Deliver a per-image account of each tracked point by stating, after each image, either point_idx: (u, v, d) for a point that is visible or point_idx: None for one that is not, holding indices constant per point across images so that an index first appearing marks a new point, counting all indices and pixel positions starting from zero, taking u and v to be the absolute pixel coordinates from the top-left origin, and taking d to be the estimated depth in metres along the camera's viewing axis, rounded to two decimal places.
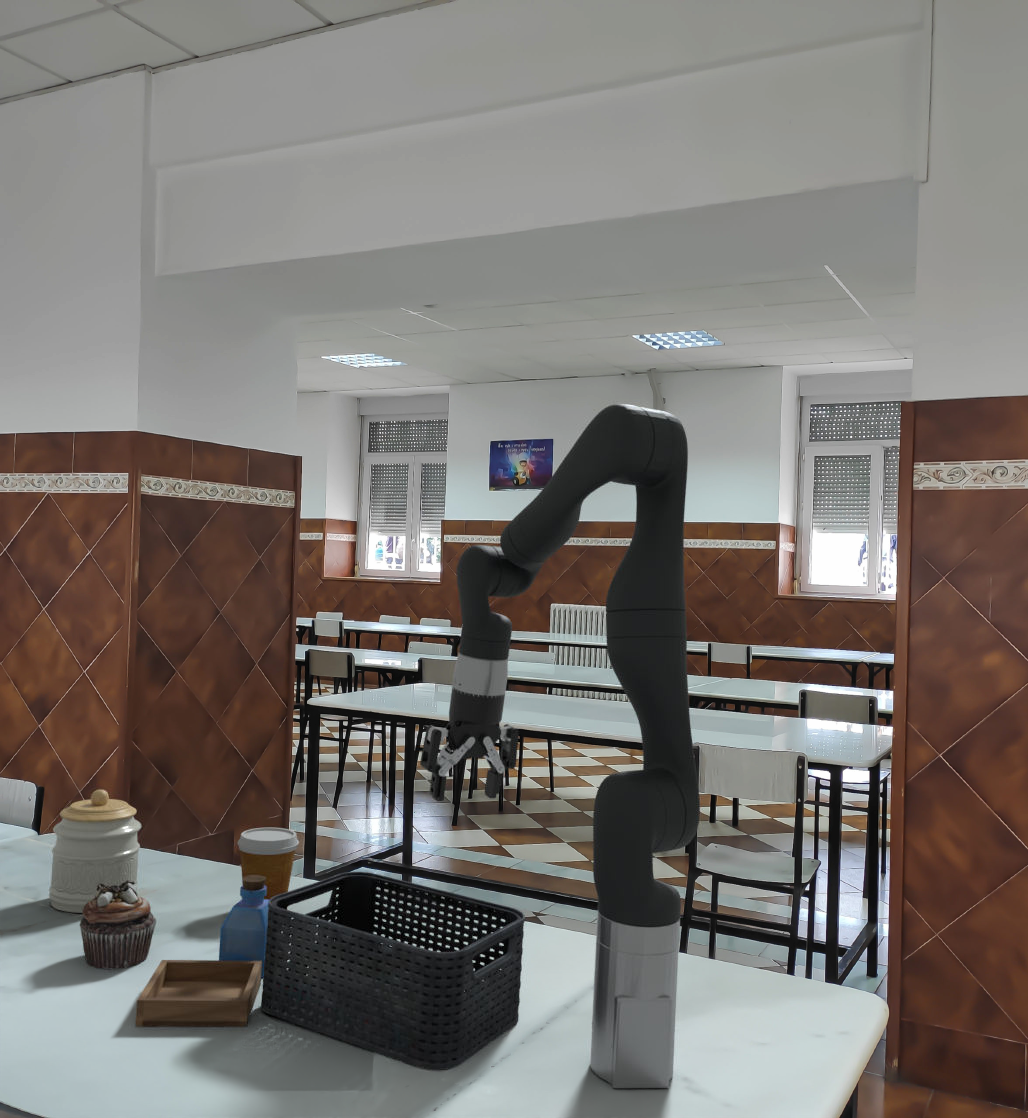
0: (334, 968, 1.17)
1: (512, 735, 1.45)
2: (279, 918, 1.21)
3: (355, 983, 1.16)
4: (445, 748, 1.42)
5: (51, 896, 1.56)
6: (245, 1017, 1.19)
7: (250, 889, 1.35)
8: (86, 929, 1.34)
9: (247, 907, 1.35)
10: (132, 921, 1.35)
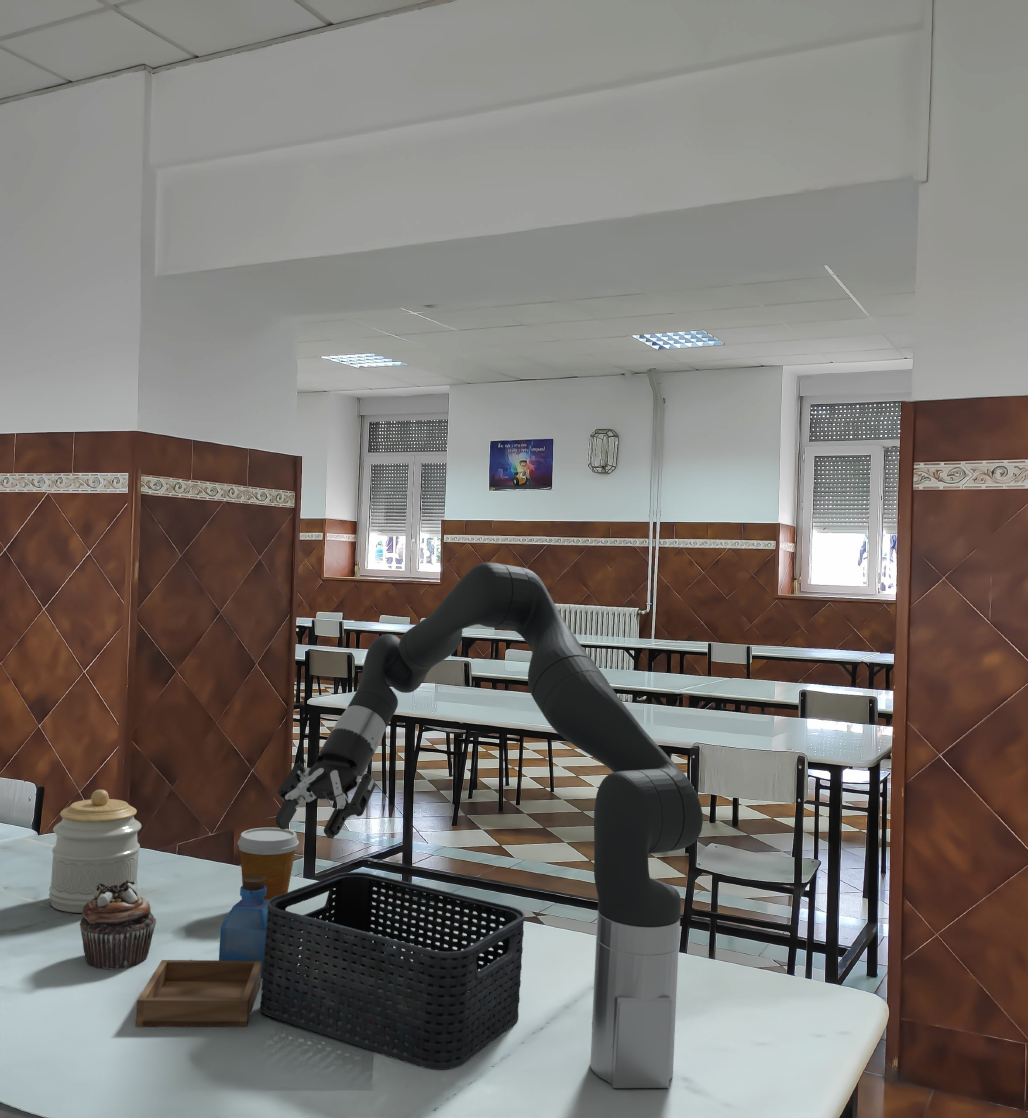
0: (336, 969, 1.17)
1: (362, 778, 1.49)
2: (279, 919, 1.21)
3: (357, 984, 1.15)
4: (310, 792, 1.53)
5: (51, 896, 1.56)
6: (245, 1017, 1.19)
7: (250, 889, 1.35)
8: (86, 929, 1.34)
9: (247, 907, 1.35)
10: (132, 921, 1.35)
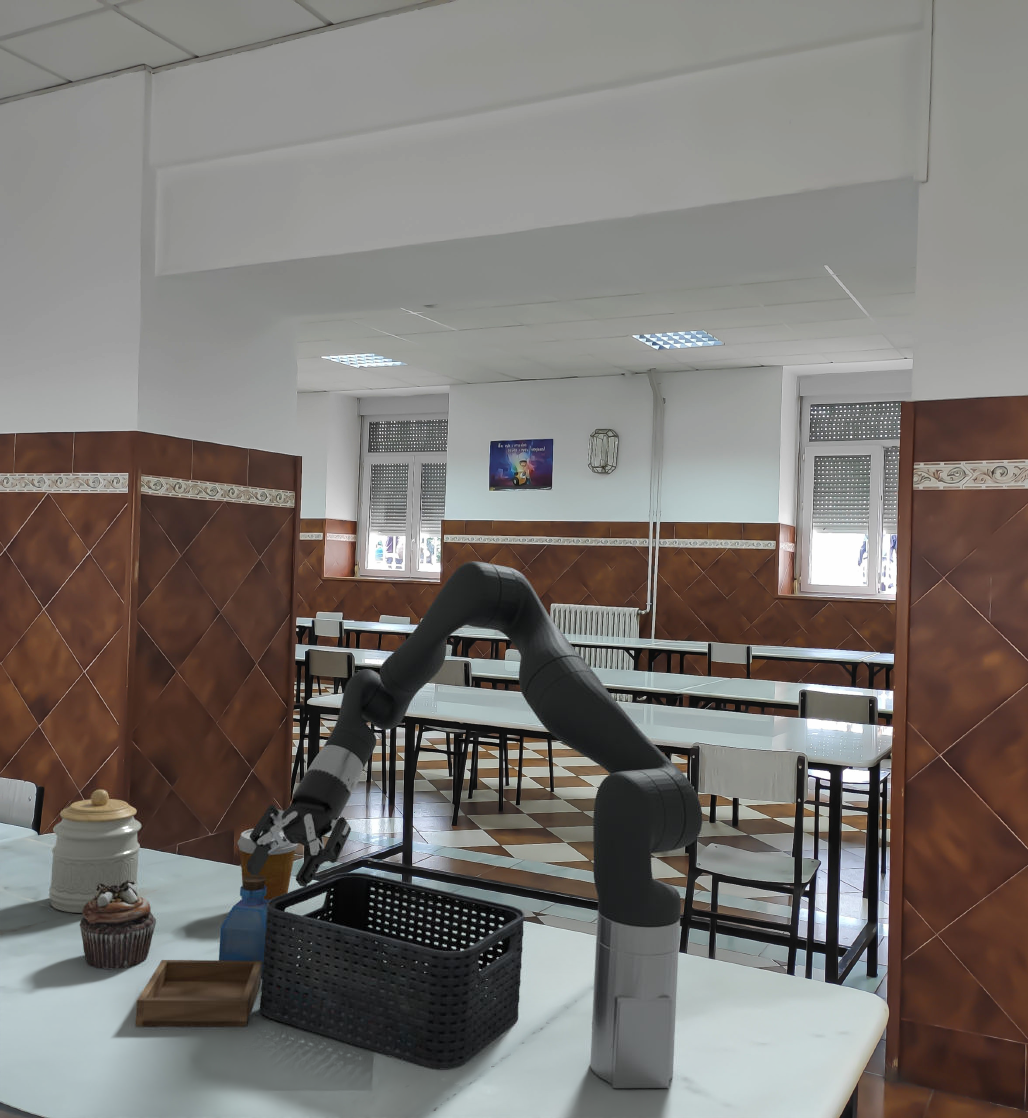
0: (337, 969, 1.17)
1: (337, 822, 1.44)
2: (279, 920, 1.21)
3: (359, 984, 1.15)
4: (284, 836, 1.48)
5: (51, 896, 1.56)
6: (245, 1017, 1.19)
7: (250, 889, 1.35)
8: (86, 929, 1.34)
9: (247, 907, 1.35)
10: (132, 921, 1.35)
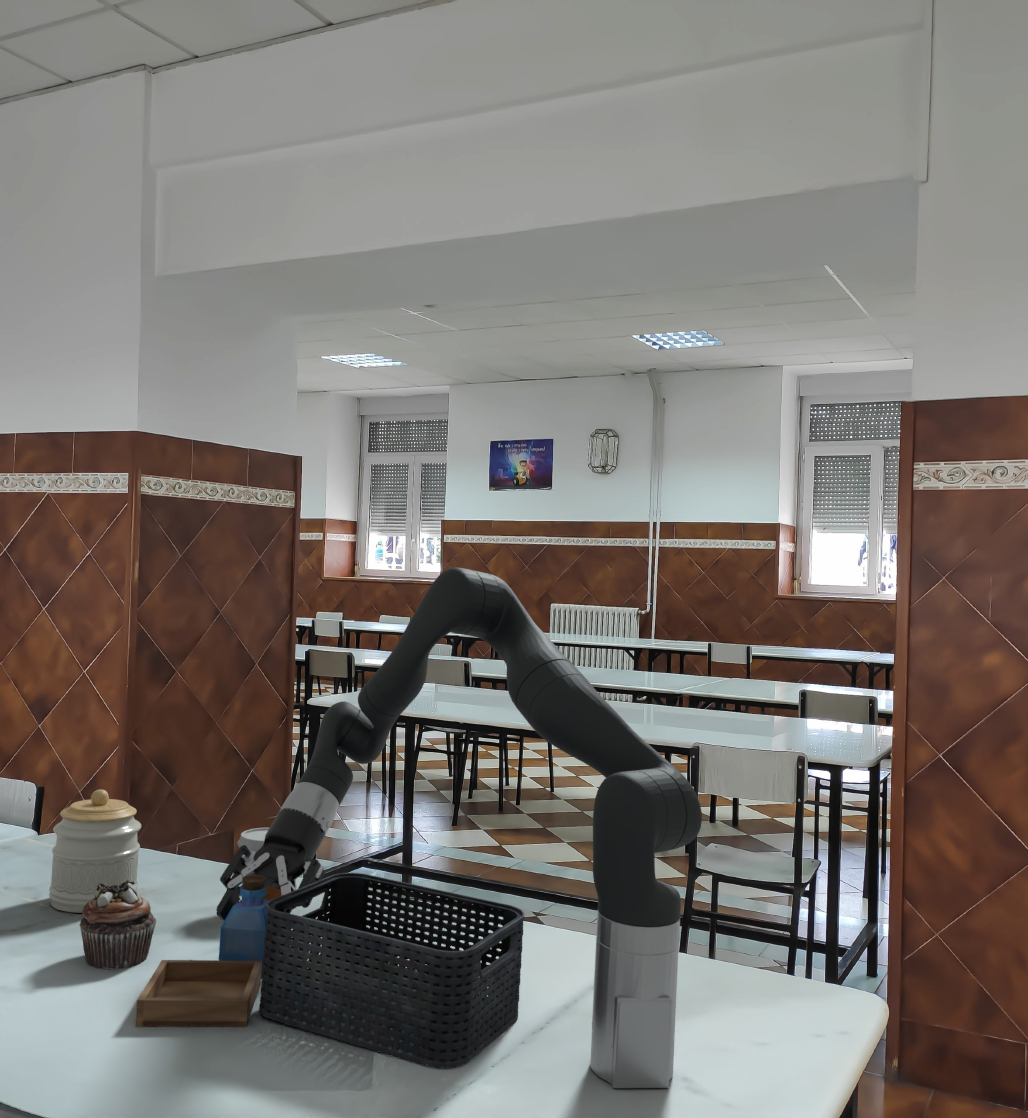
0: (338, 970, 1.17)
1: (310, 865, 1.38)
2: (279, 921, 1.20)
3: (361, 985, 1.15)
4: None
5: (51, 896, 1.56)
6: (245, 1017, 1.19)
7: (250, 889, 1.35)
8: (86, 929, 1.34)
9: (247, 907, 1.35)
10: (132, 921, 1.35)
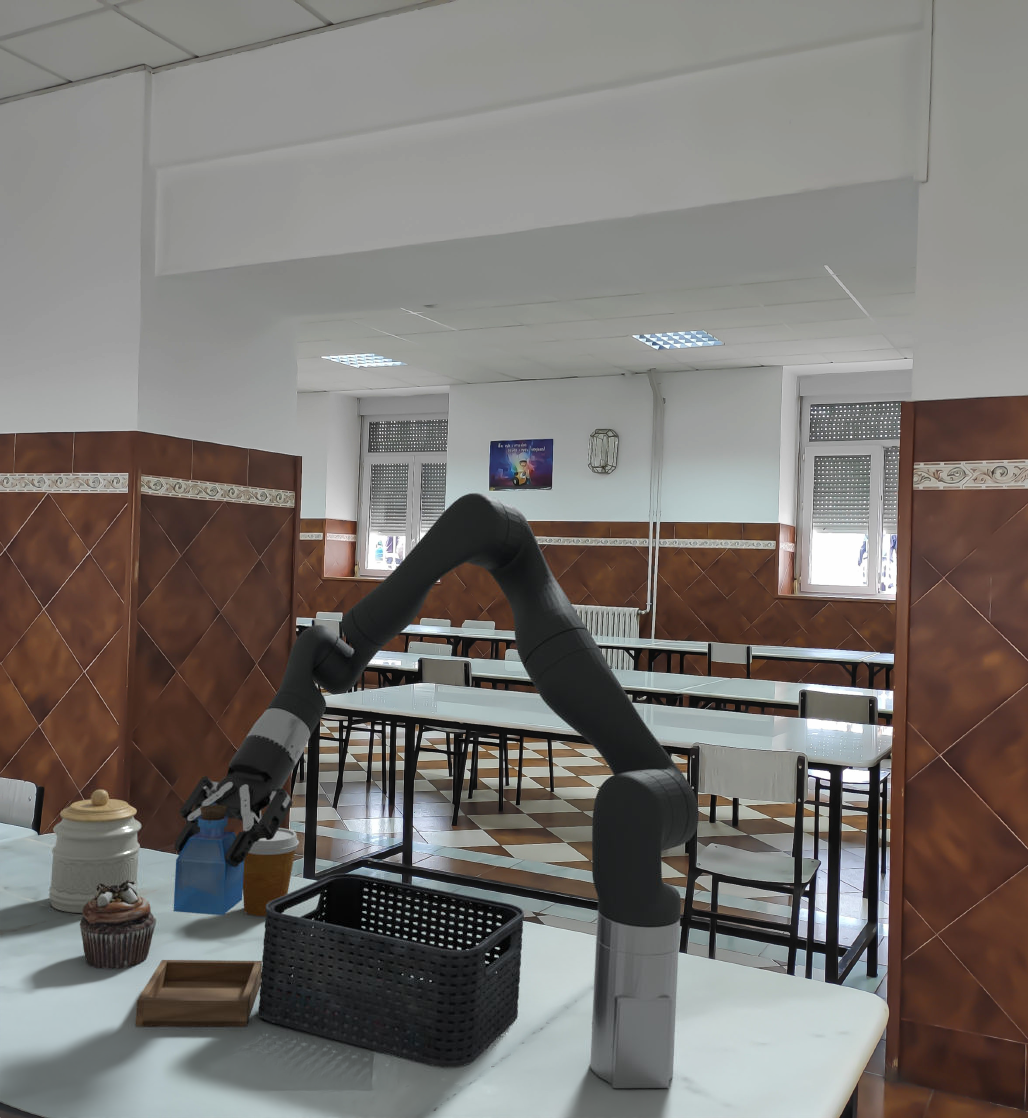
0: (341, 971, 1.16)
1: (276, 794, 1.27)
2: (280, 923, 1.19)
3: (364, 985, 1.15)
4: None
5: (51, 896, 1.56)
6: (245, 1017, 1.19)
7: (208, 818, 1.24)
8: (86, 929, 1.34)
9: (206, 838, 1.23)
10: (132, 921, 1.35)
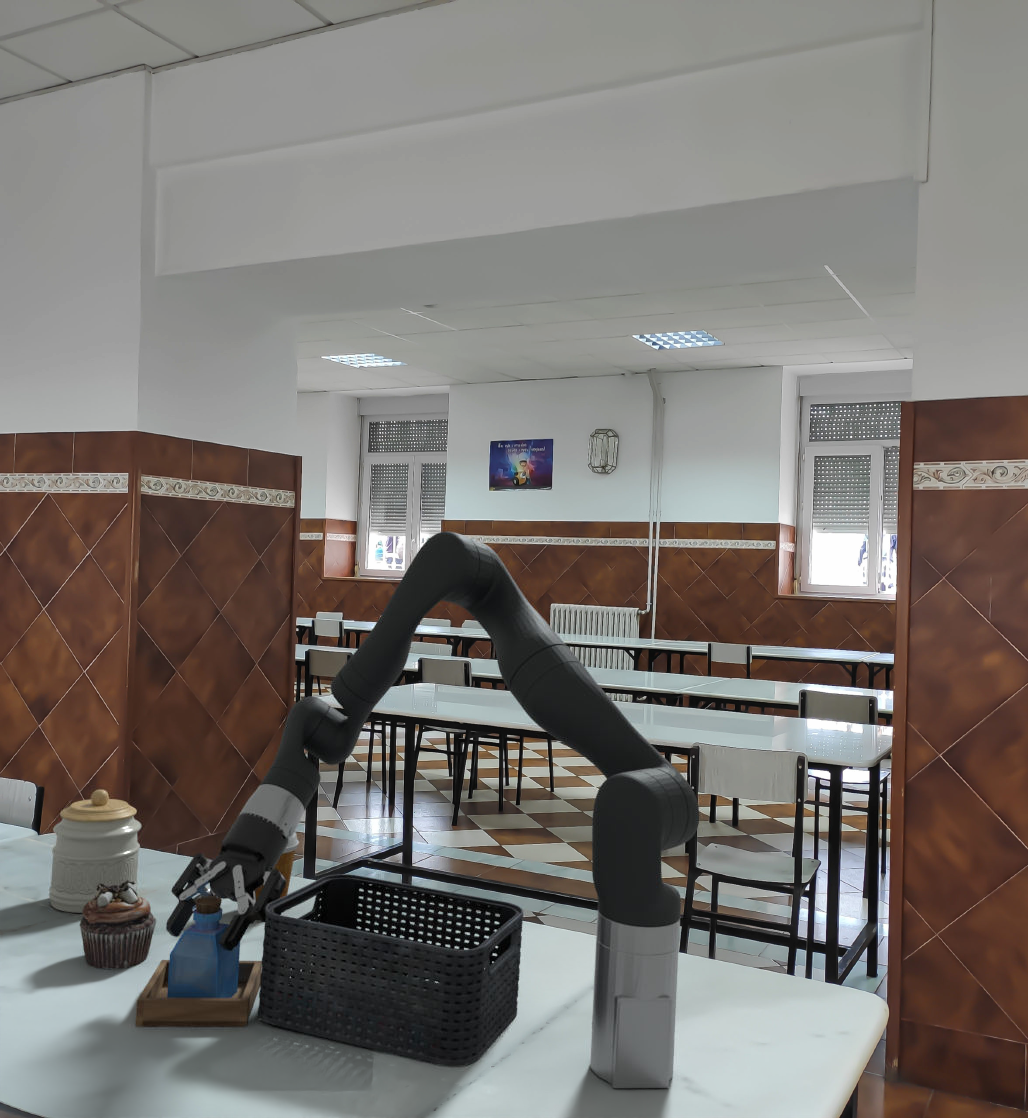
0: (344, 973, 1.16)
1: (270, 875, 1.26)
2: (281, 925, 1.19)
3: (368, 986, 1.15)
4: (211, 889, 1.30)
5: (51, 896, 1.56)
6: (245, 1017, 1.19)
7: (203, 912, 1.23)
8: (86, 929, 1.34)
9: (200, 932, 1.23)
10: (132, 921, 1.35)
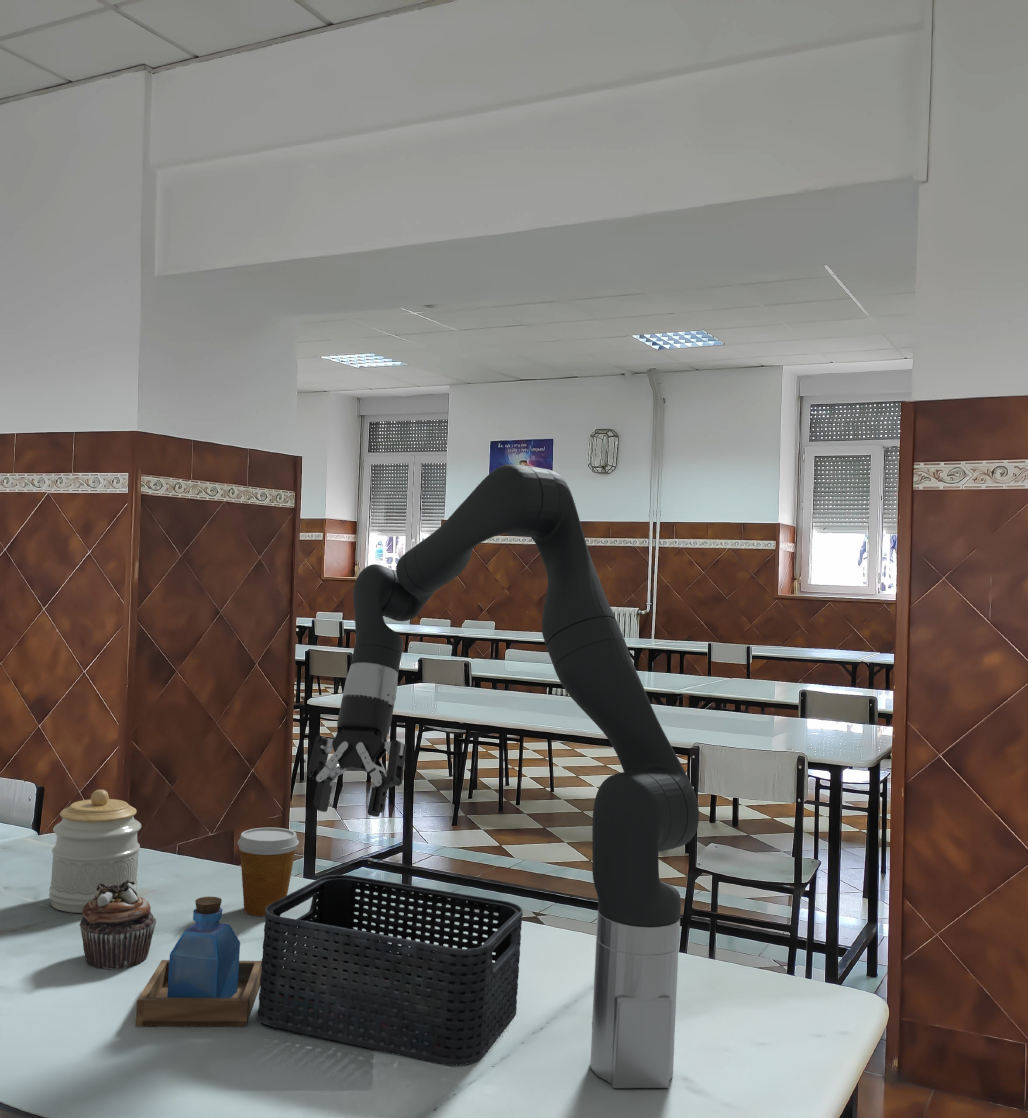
0: (346, 973, 1.16)
1: (391, 746, 1.40)
2: (281, 927, 1.18)
3: (371, 987, 1.15)
4: (340, 763, 1.45)
5: (51, 896, 1.56)
6: (245, 1017, 1.19)
7: (203, 912, 1.23)
8: (86, 929, 1.34)
9: (200, 932, 1.23)
10: (132, 921, 1.35)
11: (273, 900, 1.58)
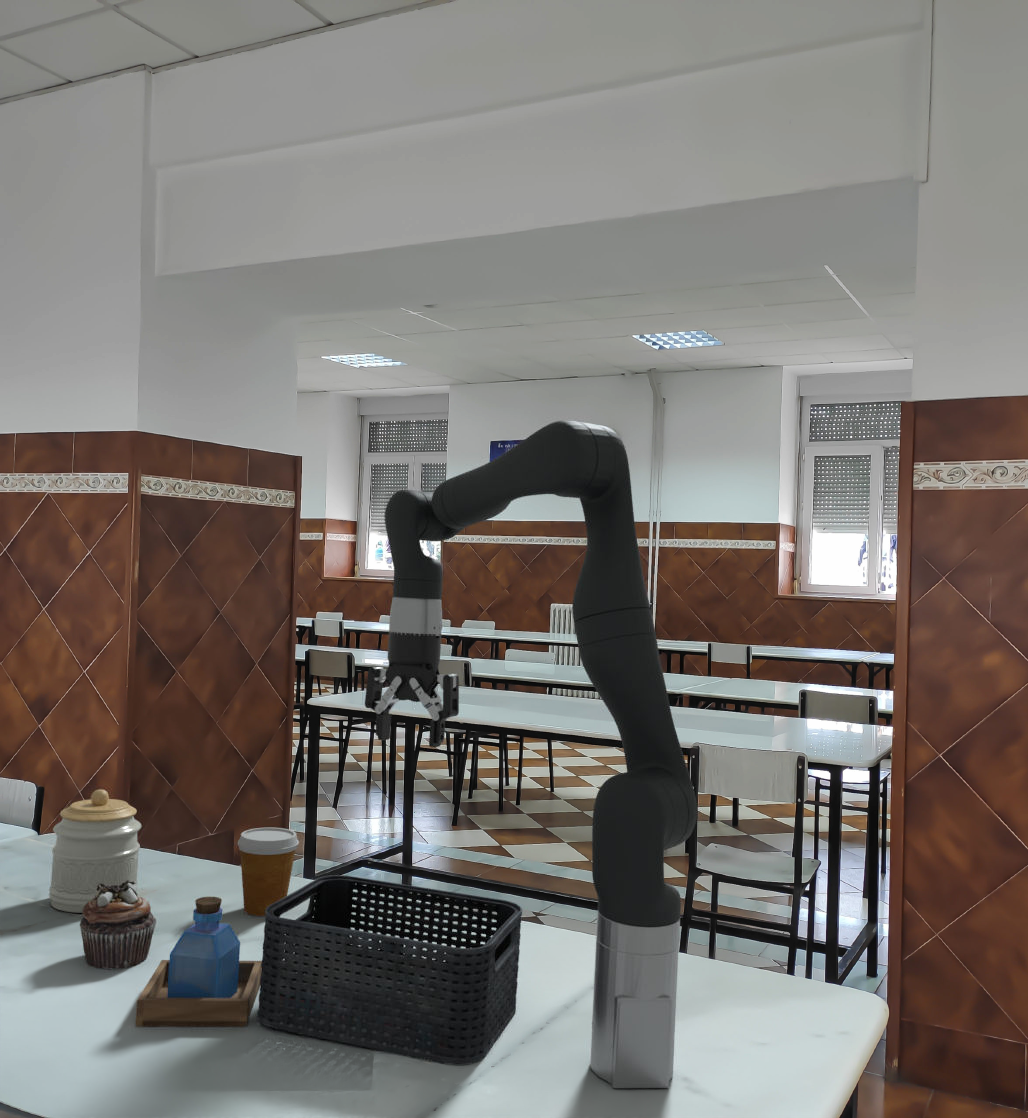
0: (348, 974, 1.16)
1: (444, 681, 1.41)
2: (282, 928, 1.18)
3: (373, 987, 1.15)
4: None
5: (51, 896, 1.56)
6: (245, 1017, 1.19)
7: (203, 912, 1.23)
8: (86, 929, 1.34)
9: (200, 932, 1.23)
10: (132, 921, 1.35)
11: (273, 900, 1.58)
